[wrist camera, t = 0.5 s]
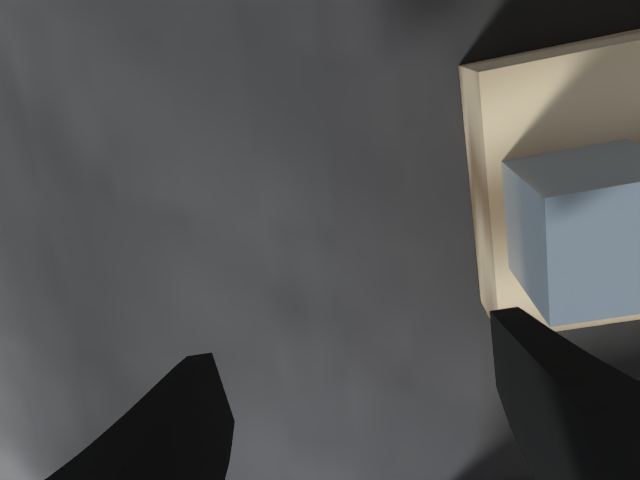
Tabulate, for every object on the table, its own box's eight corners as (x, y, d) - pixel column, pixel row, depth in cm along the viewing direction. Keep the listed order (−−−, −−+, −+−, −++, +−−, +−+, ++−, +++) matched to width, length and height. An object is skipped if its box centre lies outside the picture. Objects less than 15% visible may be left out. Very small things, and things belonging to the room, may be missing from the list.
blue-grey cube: (623, 249, 18) (695, 306, 15) (508, 267, 19) (549, 327, 15) (626, 138, 17) (706, 170, 13) (501, 161, 17) (544, 198, 14)
